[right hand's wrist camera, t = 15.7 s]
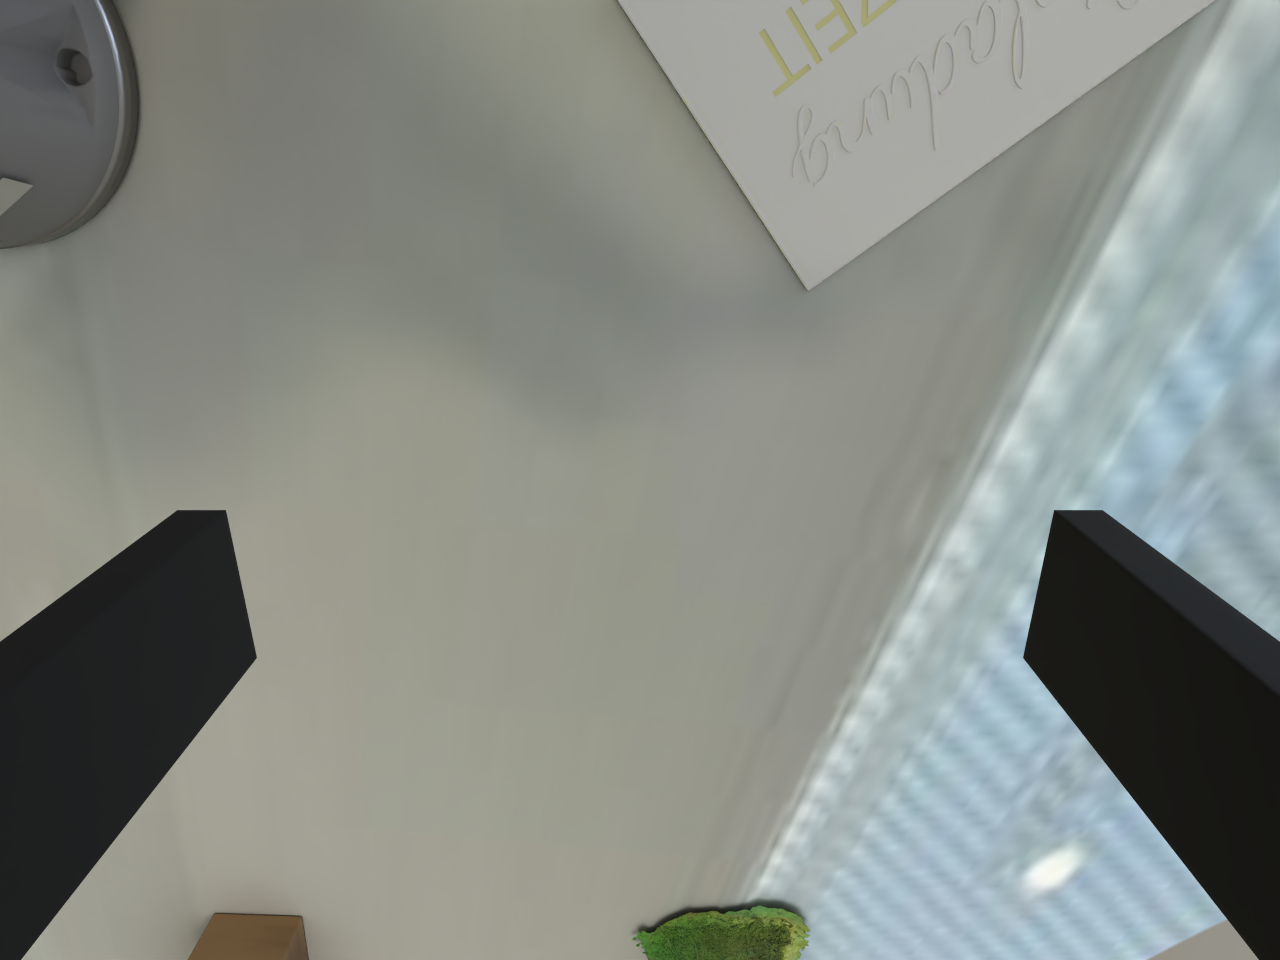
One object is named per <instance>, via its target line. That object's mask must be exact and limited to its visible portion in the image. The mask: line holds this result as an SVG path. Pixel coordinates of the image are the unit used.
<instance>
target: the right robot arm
mask: <svg viewBox="0 0 1280 960" xmlns="http://www.w3.org/2000/svg"><path fill="white" fill-rule="evenodd" d="M137 117H138V95H137V85H136V76H135V70H134V65H133V60H132V55H131V52H130V48H129V44H128V41H127V37H126V34H125V32H124V29H123V26H122V23H121V21H120V18H119V16H118V13H117V11H116V9H115V7H114V5H113V2H112V0H0V249H4V248H14V247H22V246H29V245H34V244H39V243H44V242H47V241H50V240H53V239H57V238H59V237H61V236H63V235H66V234H68V233H70V232H72V231H73V230H75V229H77V228H78V227H80V226H82V225H83V224H85V223H86V222H87V221H88V220H90V219H91V218H92V217H93V216H95V215H96V214H97V212H98V211H99V210H100V209H101V208H102V207H103V206H104V205H105V204H106V203H107V201H108V200H109V199H110V197H111V196H112V195H113V193H114V192H115V190H116V189H117V187H118V185H119V183H120V182H121V180H122V178H123V176H124V173H125V171H126V169H127V166H128V164H129V160H130V157H131V154H132V150H133V146H134V141H135V136H136V129H137ZM256 658H257V656H256V652H255V647H254V642H253V637H252V633H251V628H250V623H249V618H248V614H247V609H246V604H245V599H244V595H243V590H242V585H241V580H240V575H239V571H238V566H237V561H236V556H235V552H234V547H233V542H232V537H231V533H230V528H229V523H228V518H227V514H226V510H177V511H176V512H175V513H173V514H172V515H171V516H169V517H168V518H166V519H165V520H164V521H162V522H161V523H160V524H158V525H157V526H156V527H154V528H153V529H152V530H150V531H149V532H148V533H146V534H145V535H144V536H142V537H141V538H139V539H138V540H137V541H135V542H134V543H133V544H131V545H130V546H129V547H127V548H126V549H125V550H123V551H122V552H121V553H119V554H118V555H117V556H115V557H114V558H113V559H111V560H110V561H108V562H107V563H106V564H104V565H103V566H102V567H100V568H99V569H98V570H96V571H95V572H94V573H92V574H91V575H90V576H88V577H87V578H86V579H84V580H83V581H82V582H80V583H79V584H77V585H76V586H75V587H73V588H72V589H71V590H69V591H68V592H67V593H65V594H64V595H63V596H61V597H60V598H59V599H57V600H56V601H55V602H53V603H52V604H51V605H49V606H48V607H46V608H45V609H44V610H42V611H41V612H40V613H38V614H37V615H36V616H34V617H33V618H32V619H30V620H29V621H28V622H26V623H25V624H24V625H22V626H21V627H20V628H18V629H17V630H15V631H14V632H13V633H11V634H10V635H9V636H7V637H6V638H5V639H3V640H2V641H1V642H0V960H21V959H22V958H23V956H24V955H25V954H26V953H27V951H28V950H29V949H30V947H31V946H32V945H33V944H34V942H35V941H36V940H37V938H38V937H39V936H40V935H41V933H42V932H43V931H44V930H45V928H46V927H47V926H48V924H49V923H50V922H51V921H52V919H53V918H54V917H55V915H56V914H57V913H58V912H59V910H60V909H61V908H62V906H63V905H64V904H65V903H66V901H67V900H68V899H69V898H70V896H71V895H72V894H73V892H74V891H75V890H76V889H77V887H78V886H79V885H80V883H81V882H82V881H83V880H84V878H85V877H86V876H87V874H88V873H89V872H90V871H91V869H92V868H93V867H94V866H95V864H96V863H97V862H98V860H99V859H100V858H101V857H102V855H103V854H104V853H105V851H106V850H107V849H108V848H109V846H110V845H111V844H112V842H113V841H114V840H115V839H116V837H117V836H118V835H119V834H120V832H121V831H122V830H123V828H124V827H125V826H126V825H127V823H128V822H129V821H130V819H131V818H132V817H133V816H134V814H135V813H136V812H137V810H138V809H139V808H140V807H141V805H142V804H143V803H144V802H145V800H146V799H147V798H148V796H149V795H150V794H151V793H152V791H153V790H154V789H155V787H156V786H157V785H158V784H159V782H160V781H161V780H162V778H163V777H164V776H165V775H166V773H167V772H168V771H169V770H170V768H171V767H172V766H173V764H174V763H175V762H176V761H177V759H178V758H179V757H180V755H181V754H182V753H183V752H184V750H185V749H186V748H187V746H188V745H189V744H190V743H191V741H192V740H193V739H194V738H195V736H196V735H197V734H198V732H199V731H200V730H201V729H202V727H203V726H204V725H205V723H206V722H207V721H208V720H209V718H210V717H211V716H212V714H213V713H214V712H215V711H216V709H217V708H218V707H219V706H220V704H221V703H222V702H223V700H224V699H225V698H226V697H227V695H228V694H229V693H230V691H231V690H232V689H233V688H234V686H235V685H236V684H237V682H238V681H239V680H240V679H241V677H242V676H243V675H244V674H245V672H246V671H247V670H248V668H249V667H250V666H251V665H252V663H253V662H254V661H255V659H256ZM1023 658H1024V659H1025V661H1026V662H1027V663H1028V665H1029V666H1030V667H1031V668H1032V670H1033V671H1034V672H1035V674H1036V675H1037V676H1038V677H1039V679H1040V680H1041V681H1042V682H1043V684H1044V685H1045V686H1046V688H1047V689H1048V690H1049V691H1050V693H1051V694H1052V695H1053V697H1054V698H1055V699H1056V700H1057V702H1058V703H1059V704H1060V706H1061V707H1062V708H1063V709H1064V711H1065V712H1066V713H1067V714H1068V716H1069V717H1070V718H1071V720H1072V721H1073V722H1074V723H1075V725H1076V726H1077V727H1078V729H1079V730H1080V731H1081V732H1082V734H1083V735H1084V736H1085V738H1086V739H1087V740H1088V741H1089V743H1090V744H1091V745H1092V746H1093V748H1094V749H1095V750H1096V752H1097V753H1098V754H1099V755H1100V757H1101V758H1102V759H1103V761H1104V762H1105V763H1106V764H1107V766H1108V767H1109V768H1110V770H1111V771H1112V772H1113V773H1114V775H1115V776H1116V777H1117V778H1118V780H1119V781H1120V782H1121V784H1122V785H1123V786H1124V787H1125V789H1126V790H1127V791H1128V793H1129V794H1130V795H1131V796H1132V798H1133V799H1134V800H1135V802H1136V803H1137V804H1138V805H1139V807H1140V808H1141V809H1142V810H1143V812H1144V813H1145V814H1146V816H1147V817H1148V818H1149V819H1150V821H1151V822H1152V823H1153V825H1154V826H1155V827H1156V828H1157V830H1158V831H1159V832H1160V834H1161V835H1162V836H1163V837H1164V839H1165V840H1166V841H1167V842H1168V844H1169V845H1170V846H1171V848H1172V849H1173V850H1174V851H1175V853H1176V854H1177V855H1178V857H1179V858H1180V859H1181V860H1182V862H1183V863H1184V864H1185V866H1186V867H1187V868H1188V869H1189V871H1190V872H1191V873H1192V874H1193V876H1194V877H1195V878H1196V880H1197V881H1198V882H1199V883H1200V885H1201V886H1202V887H1203V889H1204V890H1205V891H1206V892H1207V894H1208V895H1209V896H1210V898H1211V899H1212V900H1213V901H1214V903H1215V904H1216V905H1217V906H1218V908H1219V909H1220V910H1221V912H1222V913H1223V914H1224V915H1225V917H1226V918H1227V919H1228V921H1229V922H1230V923H1231V924H1232V926H1233V927H1234V928H1235V930H1236V931H1237V932H1238V933H1239V935H1240V936H1241V937H1242V938H1243V940H1244V941H1245V942H1246V944H1247V945H1248V946H1249V947H1250V949H1251V950H1252V951H1253V953H1254V954H1255V955H1256V956H1257V958H1258V959H1259V960H1280V642H1279V641H1278V640H1277V639H1275V638H1274V637H1273V636H1271V635H1270V634H1269V633H1267V632H1266V631H1265V630H1263V629H1262V628H1260V627H1259V626H1258V625H1256V624H1255V623H1254V622H1252V621H1251V620H1250V619H1248V618H1247V617H1246V616H1244V615H1243V614H1242V613H1240V612H1239V611H1238V610H1236V609H1235V608H1234V607H1232V606H1231V605H1229V604H1228V603H1227V602H1225V601H1224V600H1223V599H1221V598H1220V597H1219V596H1217V595H1216V594H1215V593H1213V592H1212V591H1211V590H1209V589H1208V588H1207V587H1205V586H1204V585H1203V584H1201V583H1200V582H1198V581H1197V580H1196V579H1194V578H1193V577H1192V576H1190V575H1189V574H1188V573H1186V572H1185V571H1184V570H1182V569H1181V568H1180V567H1178V566H1177V565H1176V564H1174V563H1173V562H1172V561H1170V560H1169V559H1167V558H1166V557H1165V556H1163V555H1162V554H1161V553H1159V552H1158V551H1157V550H1155V549H1154V548H1153V547H1151V546H1150V545H1149V544H1147V543H1146V542H1145V541H1143V540H1142V539H1141V538H1139V537H1138V536H1136V535H1135V534H1134V533H1132V532H1131V531H1130V530H1128V529H1127V528H1126V527H1124V526H1123V525H1122V524H1120V523H1119V522H1118V521H1116V520H1115V519H1114V518H1112V517H1111V516H1109V515H1108V514H1107V513H1105V512H1104V511H1103V510H1054V514H1053V518H1052V523H1051V528H1050V533H1049V537H1048V542H1047V547H1046V552H1045V556H1044V561H1043V566H1042V571H1041V575H1040V580H1039V585H1038V590H1037V595H1036V599H1035V604H1034V609H1033V614H1032V618H1031V623H1030V628H1029V633H1028V637H1027V642H1026V647H1025V652H1024V656H1023Z"/></svg>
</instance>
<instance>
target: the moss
mask: <svg viewBox="0 0 1280 960" xmlns="http://www.w3.org/2000/svg"><path fill="white" fill-rule="evenodd" d="M805 931H808V932H809V931H810V929H809V928H808V927H807V926H805V925H804V920H803V919H802V918H801V917H799V916H797V914H794V913H791V912H787V911H785V910H784V909H781V908H780V909H776V908H766V907H763V906H757V907H752V908H751V910H741V911H738V912H731V911H729V912H726V913H725V914H721V913H719V912H717V911H710V912H703V913H691V912H689V913H687V914H685V915H682V916H680V917H678V918H675V919H673V920H670V921H668V922H666V923H664V924H663V925H662V926H660V927H658V928H657V929H656V930H655V932H652V933H646V932H645V931H642V933H640V932H638V936H637V937H634V938H633V941H634V940H635V939H636V938H640V941H643V942H644V943H639V944H637V945H636V946H639V945H640V944H642V945H643V947H644V948H645V951H646V952H643V953H645V954H647V958H648V960H798V959H799V958H800V956H801V953H800V952H799V948H801V949H802V950H803V949H805V946H809V945H808V942H809V941H807V940H804V939H803V938H806V937H808V936H810V935H807V934H806V933H805ZM643 947H642V948H643Z"/></svg>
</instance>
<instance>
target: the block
mask: <svg viewBox="0 0 1280 960" xmlns="http://www.w3.org/2000/svg"><path fill="white" fill-rule="evenodd" d="M188 960H308V955H307V948H306V941H305V935H304V928H303V922H302V917H299V916H270V915H241V914H214V915H213V917H212V918H211V920H210V922H209V924H208V925H207V927H206V929H205V931H204V932H203V934H202V936H201V938H200V939H199V941H198V943H197V945H196V946H195V948H194V950H193V952H192V953H191V955H190V957H189V959H188Z"/></svg>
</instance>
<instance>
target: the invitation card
mask: <svg viewBox="0 0 1280 960" xmlns="http://www.w3.org/2000/svg"><path fill="white" fill-rule="evenodd" d="M617 1H618V2H619V4H620V5H621V7H622V8H623V10H624V11H625V13H626V14H627V16H628V17H629V19H630V21H631V22H632V24H633V25H634V27H635V28H636V30H637V31H638V33H639V34H640V36H641V37H642V39H643V40H644V42H645V43H646V45H647V46H648V48H649V50H650V51H651V53H652V54H653V56H654V57H655V59H656V60H657V62H658V63H659V65H660V66H661V68H662V69H663V71H664V72H665V74H666V76H667V77H668V79H669V80H670V82H671V83H672V85H673V86H674V88H675V89H676V91H677V92H678V94H679V95H680V97H681V98H682V100H683V101H684V103H685V105H686V106H687V108H688V109H689V111H690V112H691V114H692V115H693V117H694V118H695V120H696V121H697V123H698V124H699V126H700V127H701V129H702V131H703V132H704V134H705V135H706V137H707V138H708V140H709V141H710V143H711V144H712V146H713V147H714V149H715V150H716V152H717V153H718V155H719V156H720V158H721V160H722V161H723V163H724V164H725V166H726V167H727V169H728V170H729V172H730V173H731V175H732V176H733V178H734V179H735V181H736V182H737V184H738V186H739V187H740V189H741V190H742V192H743V193H744V195H745V196H746V198H747V199H748V201H749V202H750V204H751V205H752V207H753V208H754V210H755V211H756V213H757V215H758V216H759V218H760V219H761V221H762V222H763V224H764V225H765V227H766V228H767V230H768V231H769V233H770V234H771V236H772V237H773V239H774V241H775V242H776V244H777V245H778V247H779V248H780V250H781V251H782V253H783V254H784V256H785V257H786V259H787V260H788V262H789V263H790V265H791V266H792V268H793V270H794V271H795V273H796V274H797V276H798V277H799V279H800V280H801V282H802V283H803V285H804V286H805V288H806V289H807V291H809V290H811V289H812V288H814V287H815V286H816V285H818V284H819V283H821V282H822V281H823V280H825V279H826V278H827V277H829V276H830V275H832V274H833V273H834V272H836V271H837V270H839V269H840V268H841V267H843V266H844V265H846V264H847V263H848V262H850V261H851V260H853V259H854V258H855V257H857V256H858V255H860V254H861V253H862V252H864V251H865V250H867V249H868V248H869V247H871V246H872V245H874V244H875V243H876V242H878V241H879V240H881V239H882V238H883V237H885V236H886V235H888V234H889V233H890V232H892V231H893V230H895V229H896V228H897V227H899V226H900V225H902V224H903V223H904V222H906V221H907V220H909V219H910V218H911V217H913V216H914V215H916V214H917V213H918V212H920V211H921V210H923V209H924V208H925V207H927V206H928V205H930V204H931V203H932V202H934V201H935V200H937V199H938V198H939V197H941V196H942V195H944V194H945V193H946V192H948V191H949V190H951V189H952V188H953V187H955V186H956V185H958V184H959V183H960V182H962V181H963V180H965V179H966V178H967V177H969V176H970V175H972V174H973V173H974V172H976V171H977V170H979V169H980V168H981V167H983V166H984V165H986V164H987V163H988V162H990V161H991V160H992V159H994V158H995V157H997V156H998V155H999V154H1001V153H1002V152H1004V151H1005V150H1006V149H1008V148H1009V147H1011V146H1012V145H1013V144H1015V143H1016V142H1018V141H1019V140H1020V139H1022V138H1023V137H1025V136H1026V135H1027V134H1029V133H1030V132H1032V131H1033V130H1034V129H1036V128H1037V127H1039V126H1040V125H1041V124H1043V123H1044V122H1046V121H1047V120H1048V119H1050V118H1051V117H1053V116H1054V115H1055V114H1057V113H1058V112H1060V111H1061V110H1062V109H1064V108H1065V107H1067V106H1068V105H1069V104H1071V103H1072V102H1074V101H1075V100H1076V99H1078V98H1079V97H1081V96H1082V95H1083V94H1085V93H1086V92H1088V91H1089V90H1090V89H1092V88H1093V87H1095V86H1096V85H1097V84H1099V83H1100V82H1102V81H1103V80H1104V79H1106V78H1107V77H1109V76H1110V75H1111V74H1113V73H1114V72H1116V71H1117V70H1118V69H1120V68H1121V67H1123V66H1124V65H1125V64H1127V63H1128V62H1130V61H1131V60H1132V59H1134V58H1135V57H1137V56H1138V55H1139V54H1141V53H1142V52H1144V51H1145V50H1146V49H1148V48H1149V47H1151V46H1152V45H1153V44H1155V43H1156V42H1158V41H1159V40H1160V39H1162V38H1163V37H1164V36H1166V35H1167V34H1169V33H1170V32H1171V31H1173V30H1174V29H1176V28H1177V27H1178V26H1180V25H1181V24H1183V23H1184V22H1185V21H1187V20H1188V19H1190V18H1191V17H1192V16H1194V15H1195V14H1197V13H1198V12H1199V11H1201V10H1202V9H1204V8H1205V7H1206V6H1208V5H1209V4H1211V3H1212V2H1213V1H1215V0H617Z"/></svg>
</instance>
